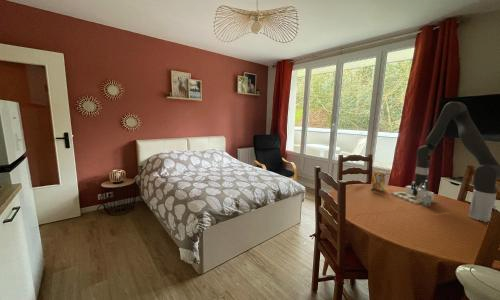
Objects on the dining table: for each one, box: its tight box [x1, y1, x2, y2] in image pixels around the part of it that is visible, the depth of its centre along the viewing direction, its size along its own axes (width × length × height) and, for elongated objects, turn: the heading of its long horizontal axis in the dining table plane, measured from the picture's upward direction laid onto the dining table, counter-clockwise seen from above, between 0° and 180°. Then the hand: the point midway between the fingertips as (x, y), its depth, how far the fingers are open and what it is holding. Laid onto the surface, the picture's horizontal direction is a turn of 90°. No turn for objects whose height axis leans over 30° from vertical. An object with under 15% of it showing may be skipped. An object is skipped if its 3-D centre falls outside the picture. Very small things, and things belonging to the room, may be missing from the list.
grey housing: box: [404, 185, 435, 201], centre depth 159 cm, size 16×6×6 cm, turn 15°
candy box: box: [370, 170, 387, 191], centre depth 175 cm, size 9×4×15 cm, turn 44°
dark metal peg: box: [422, 195, 432, 208], centre depth 144 cm, size 4×4×8 cm
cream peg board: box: [390, 191, 423, 205], centre depth 157 cm, size 18×10×2 cm, turn 15°
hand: (418, 194), depth 159 cm, fingers open, 6 cm apart
